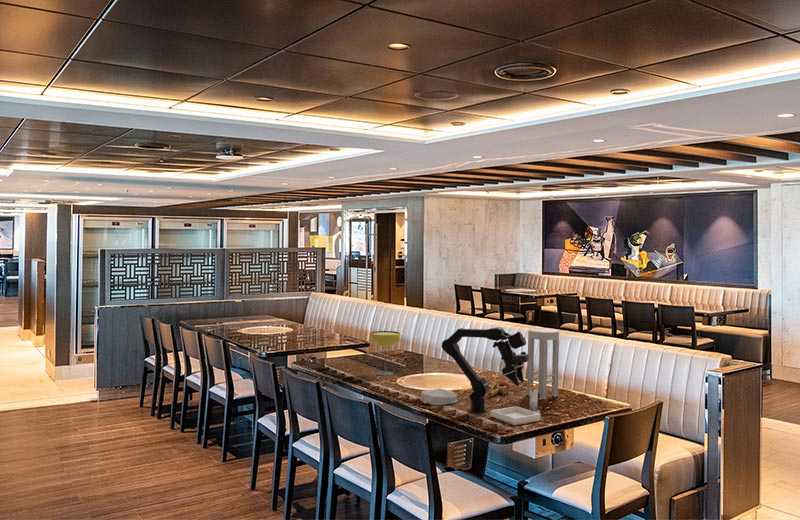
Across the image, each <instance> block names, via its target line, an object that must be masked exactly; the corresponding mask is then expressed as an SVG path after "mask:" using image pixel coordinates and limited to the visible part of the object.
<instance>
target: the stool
mask: <svg viewBox="0 0 800 520" xmlns="http://www.w3.org/2000/svg"><path fill="white" fill-rule="evenodd" d="M535 340H538V341H539V343H538V345H539V347H538V348H539V349H538V350H539V352H538V370H536V371H535V369H534V368H535V367H534V364H535V363H534V362H535V360H534V359H535ZM549 341H552V357H551V359H552V360H551V362H552V363H551V366H552V367H551V373H548V346H549V345H548V342H549ZM559 347H560V331H559V330H558V329H553V328H530V329H528V333H527V354H528V356H529V357H528V361H527V372H526V374H527V375H526V377H527V380H526V395H527V396H528V397H530V384H534V381H536V380H538V394H540V395H539V399H540V398H541V399H540V400H543V399H544V400H547V389H548V387H547V386H548V385H547V384H549V383H551V397H552V396H554V397H553V398H557V397H556V396H558V395H559V363H560V362H559V359H560V358H559V355H560V354H559V351H560V348H559ZM537 374H538V376H534V375H537ZM549 377H551V379H547V378H549ZM558 397H559V396H558Z"/></svg>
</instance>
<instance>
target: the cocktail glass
mask: <svg viewBox="0 0 800 520" xmlns="http://www.w3.org/2000/svg"><path fill="white" fill-rule="evenodd" d="M370 339H371V341H372V342H374V344H377V345H379V346H381V347H382V348H383V350H384V369H383V371H378V372H376V375H377V376H381V375H390V376H393V374H395V373H394V372H391V371H387V350H388V349H389V347H390V346H393V345H394V344H395V345H396V343H398V342H399V341H400V340H401V332H398V331H393V330H380V331H379V330H378V331H377V330H375V331H372V332H371V333H370Z"/></svg>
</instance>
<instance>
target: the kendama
mask: <svg viewBox="0 0 800 520" xmlns="http://www.w3.org/2000/svg"><path fill="white" fill-rule="evenodd" d="M509 390H510V385H509V383H508V382H507V381H501V382H499V384H498V383H494V384H493V386H492V390H491V391H489V392H488V393H487V396H489V397H488V398H493V397H494V396H495V395H497V394H498V393H501V395H502V394H503V396H505V395H507V394H508V392H509ZM504 394H505V395H504Z"/></svg>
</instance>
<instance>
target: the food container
mask: <svg viewBox="0 0 800 520" xmlns="http://www.w3.org/2000/svg"><path fill="white" fill-rule="evenodd" d="M419 400H420V402H422V403H424V404H429V405H434V406H443V405H452V404H455V403H458V402H457V401H458V395H457V394H456V392H454V391H450V390H447V389H444V388H441V387H439V388H433V389H425V390H423V391H421V397H420V399H419Z"/></svg>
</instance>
